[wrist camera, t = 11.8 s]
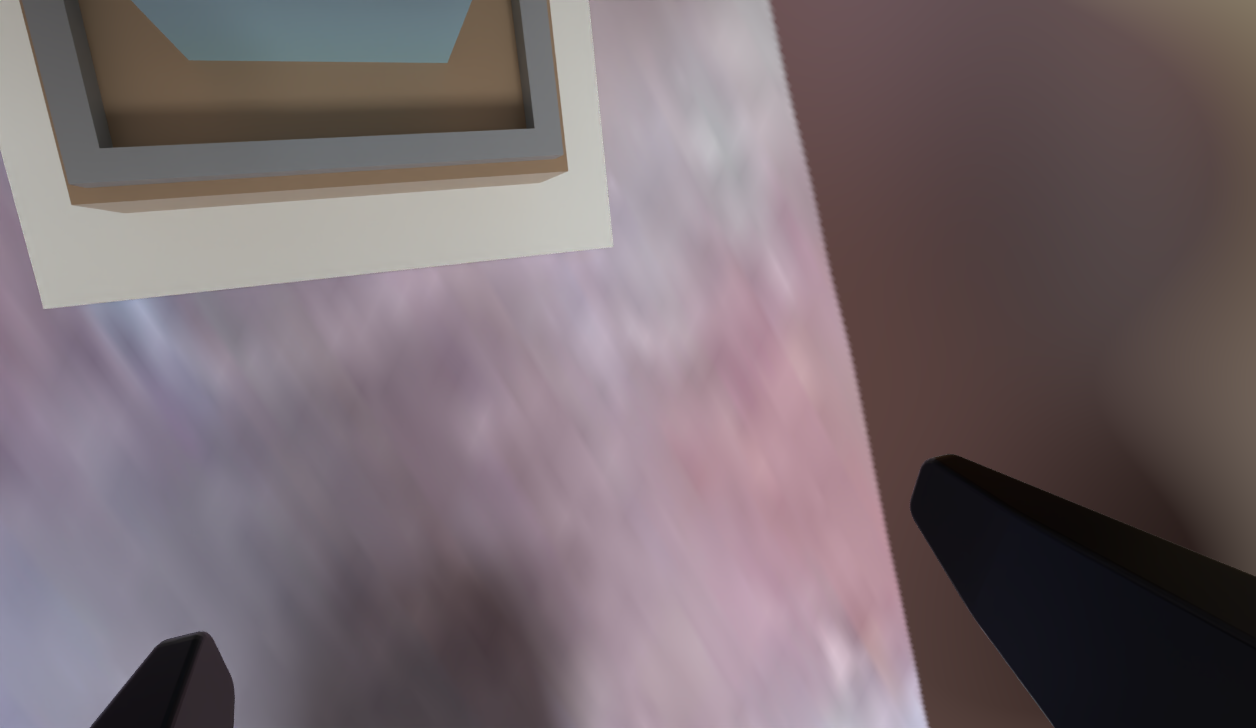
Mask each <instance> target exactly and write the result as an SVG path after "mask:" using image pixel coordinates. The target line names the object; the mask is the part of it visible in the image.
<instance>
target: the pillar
mask: <svg viewBox="0 0 1256 728" xmlns="http://www.w3.org/2000/svg"><path fill="white" fill-rule="evenodd" d="M131 1H132V2H133V3H134V4H135V5H136V6H137V7H138V8H139V9H140V10H141V11H142V12H143V13H144V14H145V15H146V16H147V17H148V19H149V20H150V21H151V22H152V23H153V24H154V25H155V26H156V27H157V28H158V29H159V30H160V31H161V32H162V33H163V34H164V35H165V36H166V37H167V38H168V39H169V40H170V41H171V42H172V43H173V44H174V46H175V47H176V48H177V49H178V50H179V51H180V52H181V53H182V54H183V55H184V56H185V57H186V58H187V59H188V60H204V61H301V62H398V63H448V60H449V58H450V55H451V52H452V50H453V47H454V45H455V42H456V40H457V37H458V35H459V32H460V30H461V27H462V25H463V22H464V19H465V17H466V14H467V12H468V9H469V7H470V4H471V2H472V0H131Z"/></svg>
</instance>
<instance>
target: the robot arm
mask: <svg viewBox="0 0 1256 728" xmlns="http://www.w3.org/2000/svg"><path fill="white" fill-rule="evenodd" d="M910 511H911V514H912V517H913V519H914V521H915V523H916V524H917V526H918V528H919V529H920V531H921V533H922V534H923V536H924V538H925V539H926V541H927V543H928V544H929V546H930V547H931V549H932V551H933V552H934V554H935V556H936V557H937V559H938V561H939V562H940V564H941V566H942V567H943V569H944V571H945V572H946V574H947V576H948V577H949V579H950V581H951V582H952V584H953V585H954V587H955V589H956V591H957V592H958V594H959V596H960V597H961V599H962V600H963V602H964V603H965V605H966V607H967V608H968V609H969V611H970V613H971V614H972V616H973V617H974V619H975V620H976V621H977V623H978V624H979V626H980V627H981V628H982V630H983V631H984V633H985V634H986V635H987V637H988V638H989V639H990V641H991V642H992V643H993V645H994V646H995V648H996V649H997V650H998V652H999V653H1000V654H1001V656H1002V657H1003V658H1004V660H1005V661H1006V662H1007V664H1008V665H1009V666H1010V668H1011V669H1012V671H1013V672H1014V673H1015V674H1016V676H1017V677H1018V679H1019V680H1020V682H1021V683H1022V684H1023V686H1024V687H1025V688H1026V690H1027V691H1028V692H1029V694H1030V695H1031V696H1032V698H1033V699H1034V701H1035V702H1036V703H1037V705H1038V706H1039V707H1040V709H1041V710H1042V711H1043V713H1044V714H1045V715H1046V717H1047V718H1048V719H1049V721H1050V722H1051V724H1052V725H1053V726H1054V728H1256V576H1253V575H1251V574H1248V573H1246V572H1243V571H1241V570H1238V569H1236V568H1234V567H1231V566H1229V565H1226V564H1224V563H1221V562H1219V561H1216V560H1214V559H1211V558H1209V557H1206V556H1204V555H1202V554H1199V553H1197V552H1194V551H1191V550H1189V549H1187V548H1184V547H1182V546H1179V545H1177V544H1174V543H1172V542H1170V541H1167V540H1165V539H1162V538H1160V537H1157V536H1155V535H1152V534H1150V533H1147V532H1145V531H1142V530H1140V529H1137V528H1135V527H1133V526H1130V525H1128V524H1125V523H1123V522H1120V521H1118V520H1115V519H1113V518H1110V517H1108V516H1105V515H1103V514H1101V513H1098V512H1096V511H1093V510H1091V509H1088V508H1086V507H1083V506H1081V505H1078V504H1076V503H1073V502H1071V501H1068V500H1066V499H1063V498H1061V497H1059V496H1056V495H1054V494H1051V493H1049V492H1046V491H1044V490H1041V489H1039V488H1036V487H1034V486H1031V485H1029V484H1026V483H1024V482H1022V481H1019V480H1017V479H1014V478H1011V477H1009V476H1007V475H1004V474H1002V473H1000V472H997V471H994V470H992V469H990V468H987V467H985V466H982V465H980V464H977V463H975V462H972V461H970V460H967V459H965V458H962V457H960V456H957V455H954V454H947V455H942V456H938V457H934V458H929V459H927V460H926V461H924V463H923V464H922V465H921V468H920V471H919V474H918V477H917V480H916V484H915V487H914V490H913V493H912V496H911V500H910ZM234 703H235V695H234V685H233V681H232V677H231V675H230V673H229V671H228V669H227V667H226V665H225V663H224V661H223V659H222V656H221V654H220V652H219V650H218V648H217V646H216V644H215V642H214V640H213V638H212V637H211V636H210V635H209V634H208V633H207V632H200V631H199V632H195V633H191V634H187V635H183V636H178V637H174V638H170V639H167V640H164V641H163V642H161V643H160V644H159V645H157V646H156V647H155V648H154V649H153V651H152V652H151V653H150V654H149V655H148V657H147V658H146V659H145V660H144V662H143V663H142V664H141V665H140V667H139V668H138V669H137V670H136V671H135V673H134V674H133V675H132V676H131V678H130V679H129V680H128V681H127V683H126V684H125V685H124V686H123V687H122V689H121V690H120V691H119V692H118V694H117V695H116V696H115V697H114V699H113V700H112V701H111V702H110V704H109V705H108V706H107V707H106V708H105V710H104V711H103V712H102V713H101V715H100V716H99V717H98V718H97V720H96V721H95V722H94V723H93V724H92V726H91V727H90V728H233V726H234Z"/></svg>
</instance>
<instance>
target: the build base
mask: <svg viewBox="0 0 1256 728" xmlns="http://www.w3.org/2000/svg"><path fill="white" fill-rule="evenodd" d="M0 150H1V154H2V158H3V161H4V165H5V169H6V172H7V176H8V180H9V183H10V187H11V191H12V194H13V198H14V202H15V205H16V209H17V213H18V216H19V220H20V224H21V227H22V231H23V235H24V238H25V242H26V246H27V249H28V253H29V257H30V260H31V264H32V268H33V271H34V275H35V279H36V282H37V286H38V290H39V293H40V297H41V301H42V304H43V308H44V309H50V308H59V307H68V306H77V305H86V304H95V303H105V302H114V301H123V300H132V299H141V298H150V297H160V296H169V295H178V294H187V293H196V292H206V291H215V290H224V289H233V288H242V287H251V286H261V285H270V284H279V283H288V282H297V281H307V280H316V279H325V278H334V277H343V276H352V275H362V274H371V273H380V272H389V271H398V270H407V269H417V268H426V267H435V266H444V265H453V264H463V263H472V262H481V261H490V260H499V259H508V258H518V257H527V256H536V255H545V254H554V253H564V252H573V251H582V250H591V249H600V248H609V247H613V238H612V228H611V218H610V208H609V198H608V188H607V178H606V168H605V158H604V148H603V138H602V128H601V118H600V108H599V98H598V88H597V78H596V68H595V58H594V48H593V38H592V28H591V18H590V8H589V0H472V2H471V4H470V7H469V9H468V12H467V14H466V17H465V19H464V22H463V25H462V27H461V30H460V32H459V35H458V37H457V40H456V42H455V45H454V47H453V50H452V52H451V55H450V58H449V60H448V63H398V62H301V61H204V60H188V59H187V58H186V57H185V56H184V55H183V54H182V53H181V52H180V51H179V50H178V49H177V48H176V47H175V46H174V44H173V43H172V42H171V41H170V40H169V39H168V38H167V37H166V36H165V35H164V34H163V33H162V32H161V31H160V30H159V29H158V28H157V27H156V26H155V25H154V24H153V23H152V22H151V21H150V20H149V19H148V17H147V16H146V15H145V14H144V13H143V12H142V11H141V10H140V9H139V8H138V7H137V6H136V5H135V4H134V3H133V2H132V1H131V0H0Z"/></svg>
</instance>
